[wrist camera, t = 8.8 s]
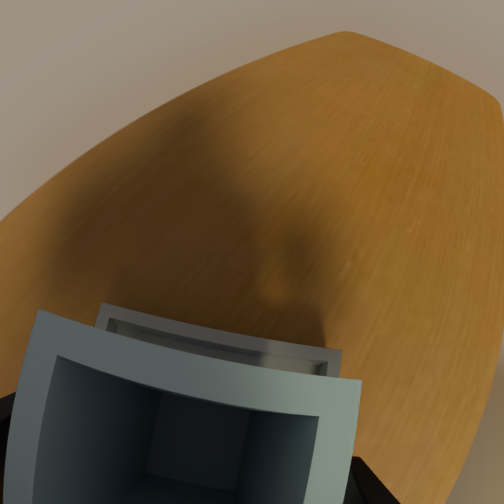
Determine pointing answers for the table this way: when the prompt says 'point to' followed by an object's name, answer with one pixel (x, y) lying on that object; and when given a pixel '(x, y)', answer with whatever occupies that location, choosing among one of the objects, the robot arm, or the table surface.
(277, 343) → the shallow crate
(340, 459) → the slim crate
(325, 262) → the table surface
